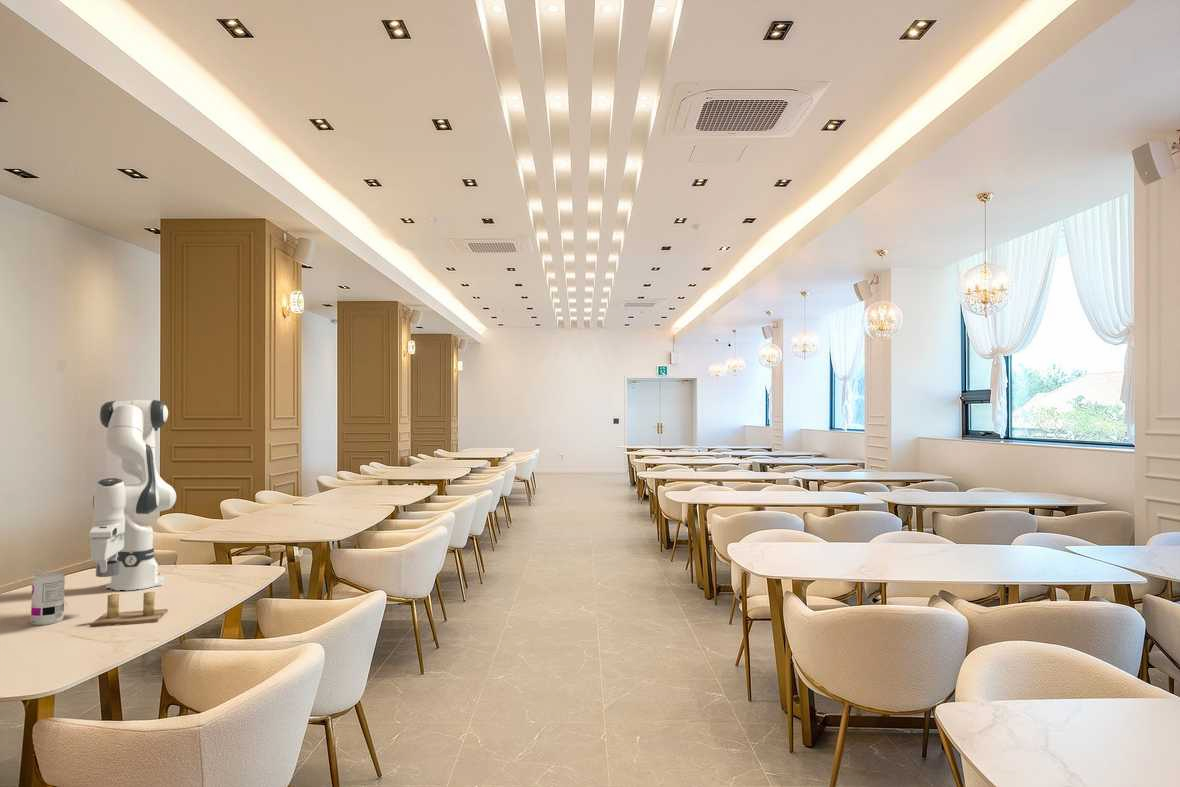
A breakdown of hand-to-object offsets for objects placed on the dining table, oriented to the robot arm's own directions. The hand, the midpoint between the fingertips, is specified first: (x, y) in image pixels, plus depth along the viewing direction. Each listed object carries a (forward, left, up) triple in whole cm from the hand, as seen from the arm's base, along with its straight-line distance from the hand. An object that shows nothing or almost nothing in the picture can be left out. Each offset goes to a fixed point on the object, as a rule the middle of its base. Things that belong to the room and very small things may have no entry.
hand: (108, 569), depth 234 cm
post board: (+12, +10, -14) cm, 21 cm away
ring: (0, 0, -2) cm, 2 cm away
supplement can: (+8, -14, -14) cm, 21 cm away
